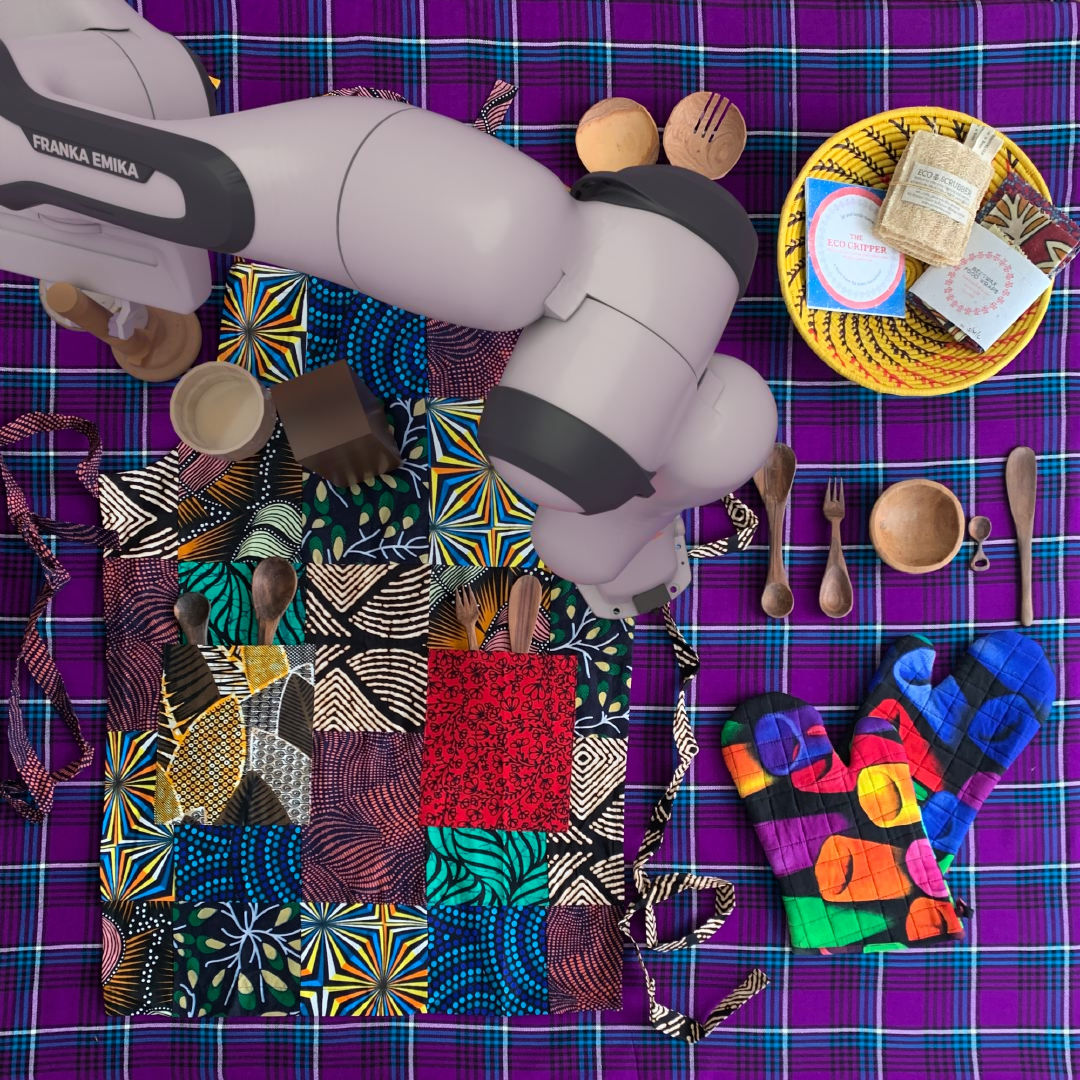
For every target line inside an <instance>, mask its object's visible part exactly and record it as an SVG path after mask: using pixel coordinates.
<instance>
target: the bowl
mask: <svg viewBox="0 0 1080 1080" xmlns="http://www.w3.org/2000/svg"><path fill="white" fill-rule="evenodd" d="M169 417H170V418H169V419H170V421H171V424H172V428H173V430H174V432H175V433H176V434H177V436H178V437H179V439H180V440H181V441H182V443H184V444H185V445H187V446H188V447H190V448H191V449H193V450H194V451H196V452H198V453H200V454H202V455H204V456H207V457H209V458H210V459H214V460H218V461H222V462H239V461H242V460H244V459H247V458H250V457H253V456H254V455H255V454H257V453H258V452H259V451H260V450H262V449H263V448H264V447H265V446H266V445H267V443H268V442H269V440H270V439H271V437H272V436H273V433H274V430H275V428H276V427H275V426H276V423H277V408H276V405H275V402H274V400H273V397H272V394H271V391H270V389H269V388H268V387H266V385H265V384H264V383H263V382H262V381H261V380H260V379H258V378H257V377H256V376H255V375H254V374H252V372H250V371H249V370H247V369H246V368H243V367H242V366H240V365H239V364H236V363H233V362H228V361H225V360H220V361H218V360H217V361H215V360H214V361H207V362H204V363H201V364H198V365H196V366H194V367H193V368H192V369H190V370H189V371H187V372H185V374H184V375H183V376H182V377H181V378H180V380H179V381H178V382H177V384H176V385H175V387H174V388H173V392H172V394H171V398H170V400H169Z"/></svg>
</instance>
